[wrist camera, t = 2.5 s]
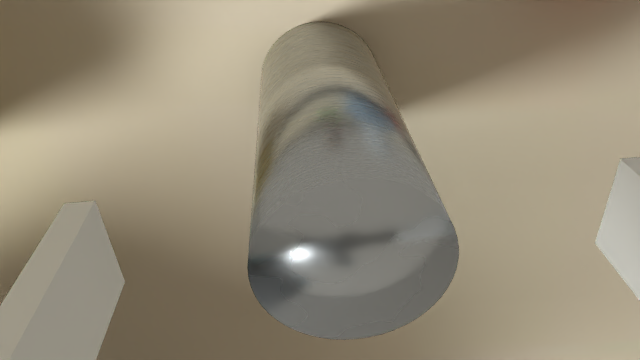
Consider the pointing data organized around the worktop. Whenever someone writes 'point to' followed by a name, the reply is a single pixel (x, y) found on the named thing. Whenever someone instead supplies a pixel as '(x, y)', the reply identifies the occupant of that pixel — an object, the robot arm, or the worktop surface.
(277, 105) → the pipe stub
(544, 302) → the worktop surface
